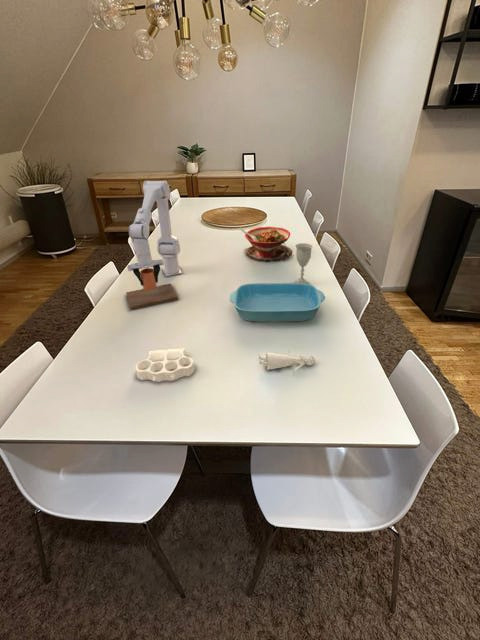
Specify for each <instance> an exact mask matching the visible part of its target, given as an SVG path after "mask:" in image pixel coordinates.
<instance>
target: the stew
mask: <svg viewBox="0 0 480 640" xmlns="http://www.w3.org/2000/svg"><path fill="white" fill-rule="evenodd" d="M238 227H239V229H240V230H241V232H242V233H244V236H245V239H246V240H247V241H248V242H249V243H250V245H251V246H249V247H247V248H245V250H246V251H245V255H246V256H247V257H249V258H250V259H252V260H255V261H257V262H263V263H264V262H265V263H269V262H270V263H271V262H272V263H273V262H281V261H287V260H288V259H290V257H291V256H293V250H292V249H291V247H289V246H287V245H286V242H287V241H288V240H289V238H290V237H291V232H290V231H289V230H288V229H285V228H283V227H275V226H260V227H254V228H251V229H249V230H248V231H246V230H244V229H243V228H242V227H241V226H240V225H238Z"/></svg>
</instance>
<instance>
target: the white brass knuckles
mask: <svg viewBox="0 0 480 640" xmlns="http://www.w3.org/2000/svg"><path fill="white" fill-rule="evenodd" d="M134 368H135V373H136V376H137V378H138V379H139V380H141V381H147V380H149V381H152V382H154V383H155V382H156V383H160V382H163V381H168V382H173V381H177V380H178V379H180V378H182V377H190V376H192V375H193V374H194V372H195V363H194V359H193V358H192V357H190V356H186V348H184V347H182V348H174V349H173V348H172V349H171V348H170V349H168V348H167V349H158V350H149V352H148V357H146V359H143V360H140V361H139V362H137V363H136V365H135V367H134Z"/></svg>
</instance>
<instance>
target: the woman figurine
mask: <svg viewBox="0 0 480 640" xmlns="http://www.w3.org/2000/svg"><path fill="white" fill-rule="evenodd" d="M285 352H286V353H288V354H291V355H292V356H289V355H285V354H281V353H275V352H274V353H273V352H266V353H265V357H261V354H260V355H258V360H259V361H258V362H259V363H258V365H262V366H265V367H266V369H267V370H268V371H269V370H274V369H281V368H285V367H289V366H291V365H293V364H298V366H296V368H294V369H292V370H291V374H294V373H295V372H296V371H298V370H299V369H300V368H301V367H303V366H305V364H306V365H307V366H312V365H314V364H315V362H316V359H315V356H308V357H306V358H305V357H304V356H303V355H297V354H295V353H293V352H291V351H290V350H288V349H285Z"/></svg>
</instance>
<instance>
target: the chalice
mask: <svg viewBox="0 0 480 640" xmlns="http://www.w3.org/2000/svg"><path fill="white" fill-rule="evenodd" d="M313 247H314V246H313V245H312V244H310V243H306V242H305V243H303V242H302V243H297V244H295V249H296V250H295V251H296V253H295V258H296V261H297V263H298V265H299V267H300V268H301V269H300V273H299V275H300V277H299V278H298V279H297V280H296V282H295V283H304V284H308V283H307V280H306V279H305V278H304V275H305V273H304V272H305V267H306V266H307V265H308V264H309V262H310V260H311V258H312V249H313Z"/></svg>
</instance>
